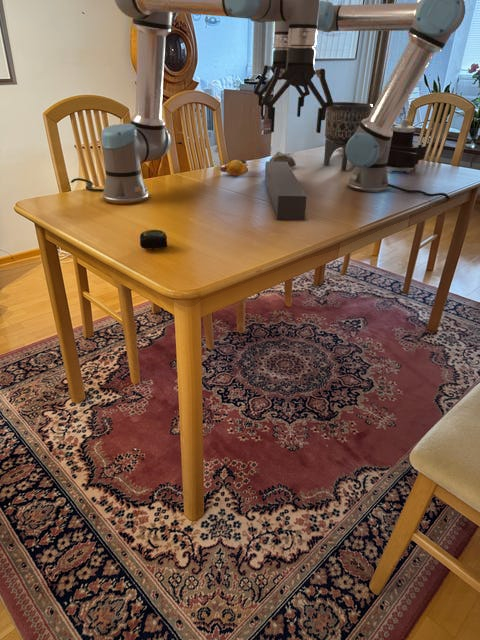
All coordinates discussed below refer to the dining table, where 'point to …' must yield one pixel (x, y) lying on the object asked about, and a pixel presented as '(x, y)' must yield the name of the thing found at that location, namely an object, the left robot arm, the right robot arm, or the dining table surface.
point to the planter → (343, 126)
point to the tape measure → (153, 239)
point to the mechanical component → (404, 149)
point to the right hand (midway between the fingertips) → (280, 116)
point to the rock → (283, 159)
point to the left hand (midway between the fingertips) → (295, 132)
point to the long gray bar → (285, 191)
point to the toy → (235, 167)
